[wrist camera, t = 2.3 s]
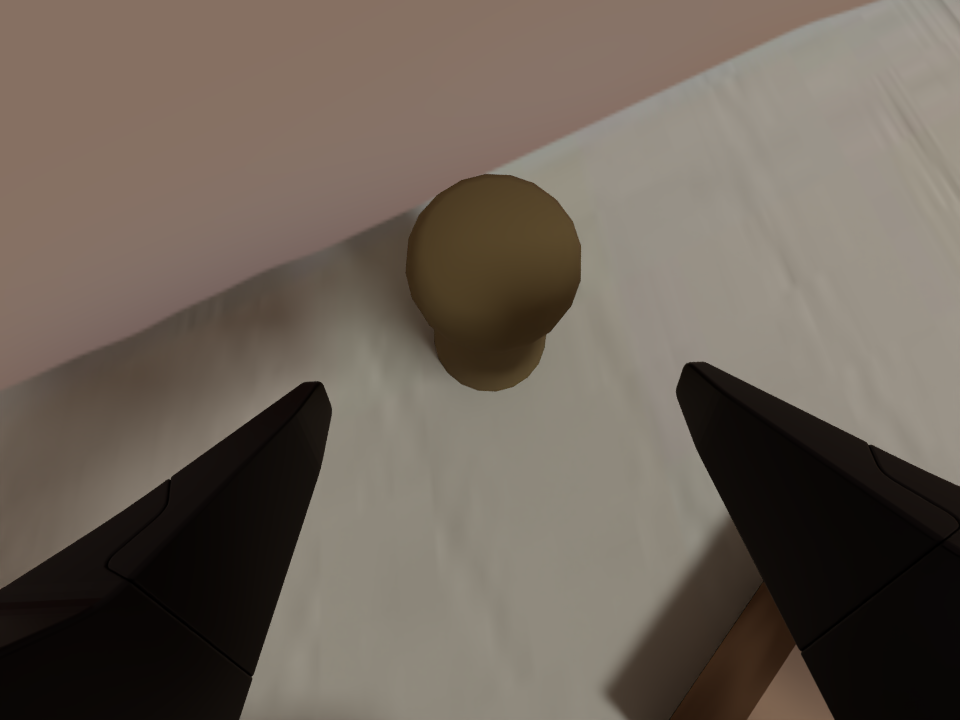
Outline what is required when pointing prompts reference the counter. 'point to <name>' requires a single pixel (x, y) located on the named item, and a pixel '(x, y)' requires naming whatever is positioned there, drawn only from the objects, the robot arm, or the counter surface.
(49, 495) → the counter surface
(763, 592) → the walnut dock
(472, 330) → the cork
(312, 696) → the counter surface
